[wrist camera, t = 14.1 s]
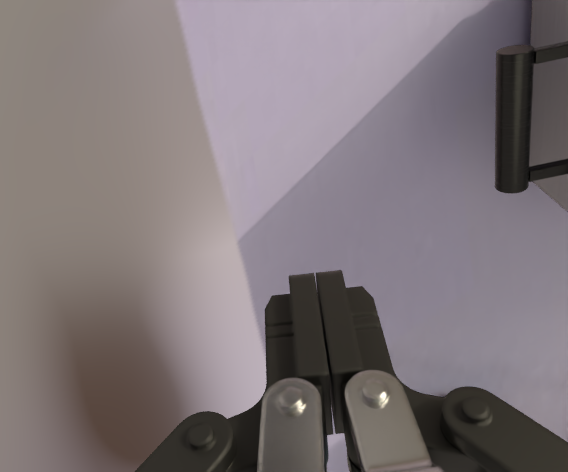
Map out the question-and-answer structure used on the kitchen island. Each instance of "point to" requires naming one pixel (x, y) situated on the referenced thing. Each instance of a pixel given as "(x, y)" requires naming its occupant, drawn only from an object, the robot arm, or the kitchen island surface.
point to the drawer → (534, 107)
